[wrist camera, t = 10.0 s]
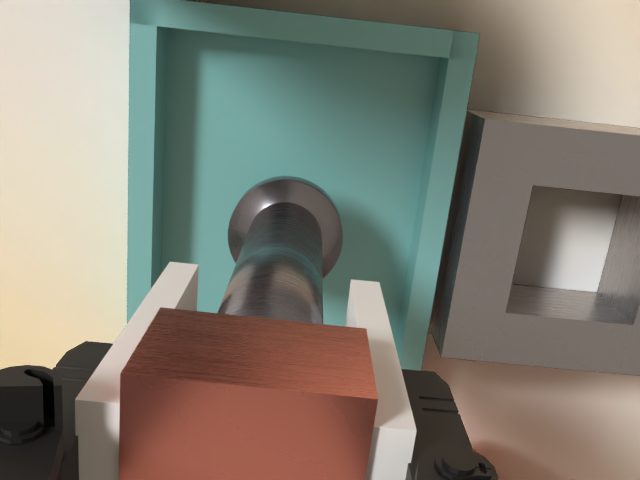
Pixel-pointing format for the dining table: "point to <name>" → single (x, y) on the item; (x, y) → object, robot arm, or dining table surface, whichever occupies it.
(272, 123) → the tray
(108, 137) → the dining table surface
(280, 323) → the rod with pink block
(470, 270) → the eye block
